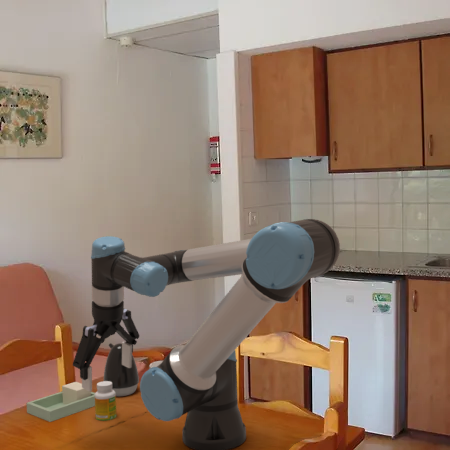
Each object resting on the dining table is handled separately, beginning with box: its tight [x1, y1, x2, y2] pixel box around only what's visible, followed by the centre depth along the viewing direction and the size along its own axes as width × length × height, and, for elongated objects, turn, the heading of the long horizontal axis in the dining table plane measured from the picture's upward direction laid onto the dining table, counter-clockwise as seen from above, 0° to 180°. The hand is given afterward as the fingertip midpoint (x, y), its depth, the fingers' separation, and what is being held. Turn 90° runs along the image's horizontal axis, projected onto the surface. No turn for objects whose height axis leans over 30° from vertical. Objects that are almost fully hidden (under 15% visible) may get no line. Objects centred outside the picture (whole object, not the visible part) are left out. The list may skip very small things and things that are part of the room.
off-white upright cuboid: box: [61, 381, 92, 404], centre depth 176 cm, size 7×4×5 cm, turn 49°
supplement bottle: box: [94, 381, 117, 422], centre depth 165 cm, size 5×5×10 cm
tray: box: [26, 391, 96, 423], centre depth 173 cm, size 11×16×4 cm
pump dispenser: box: [103, 342, 140, 397], centre depth 184 cm, size 10×10×15 cm
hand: (107, 377), depth 158 cm, fingers open, 13 cm apart
